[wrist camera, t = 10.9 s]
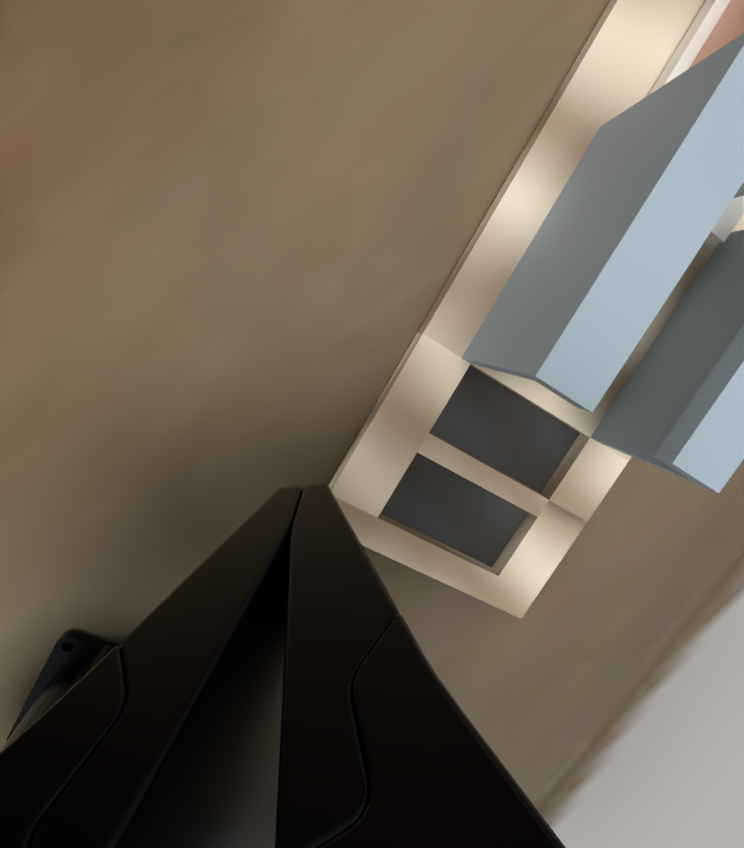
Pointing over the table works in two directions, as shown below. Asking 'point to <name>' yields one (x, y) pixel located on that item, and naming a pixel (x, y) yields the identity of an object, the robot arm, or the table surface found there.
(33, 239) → the table surface
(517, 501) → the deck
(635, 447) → the light blue blocks
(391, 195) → the table surface
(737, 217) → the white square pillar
